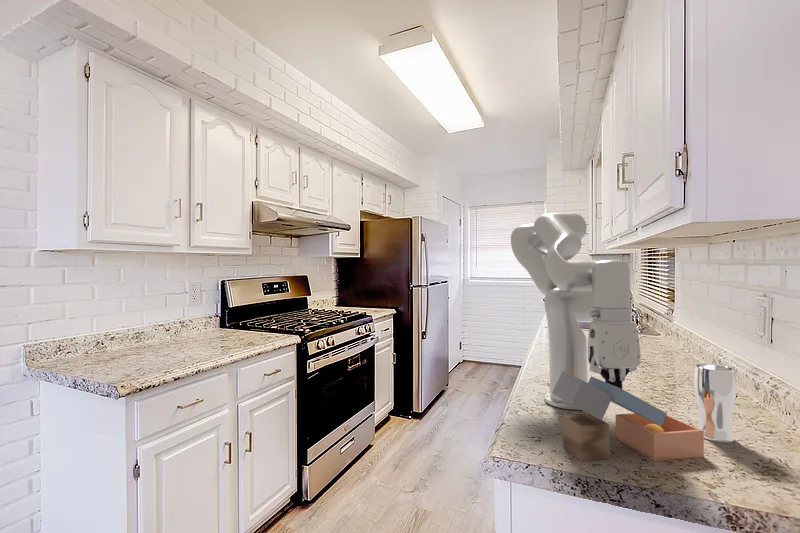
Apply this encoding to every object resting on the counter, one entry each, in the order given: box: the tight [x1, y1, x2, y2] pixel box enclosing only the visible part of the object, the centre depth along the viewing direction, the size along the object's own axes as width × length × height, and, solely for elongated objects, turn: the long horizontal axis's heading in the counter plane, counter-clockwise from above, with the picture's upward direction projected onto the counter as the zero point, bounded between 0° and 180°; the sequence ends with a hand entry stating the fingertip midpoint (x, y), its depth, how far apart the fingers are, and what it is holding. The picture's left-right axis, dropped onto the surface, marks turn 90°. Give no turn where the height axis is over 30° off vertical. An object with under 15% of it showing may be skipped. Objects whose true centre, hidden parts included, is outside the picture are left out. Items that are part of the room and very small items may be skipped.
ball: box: [644, 424, 664, 433], centre depth 80 cm, size 4×4×4 cm
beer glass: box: [693, 362, 737, 444], centre depth 85 cm, size 7×7×15 cm
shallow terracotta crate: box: [615, 412, 705, 462], centre depth 80 cm, size 11×11×5 cm
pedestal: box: [562, 412, 611, 462], centre depth 78 cm, size 6×6×7 cm
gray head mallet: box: [552, 371, 668, 426], centre depth 82 cm, size 19×15×7 cm
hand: (614, 398), depth 88 cm, fingers closed
